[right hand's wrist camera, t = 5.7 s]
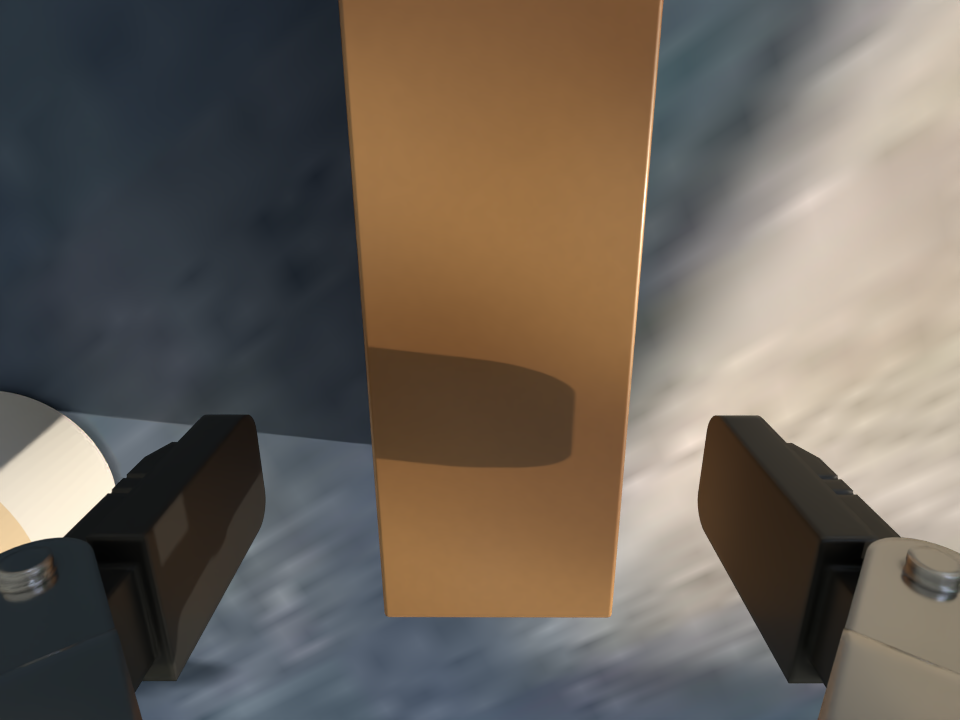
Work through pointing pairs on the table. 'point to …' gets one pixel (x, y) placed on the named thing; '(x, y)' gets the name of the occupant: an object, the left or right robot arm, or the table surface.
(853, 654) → the right robot arm
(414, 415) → the beam
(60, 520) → the coffee cup
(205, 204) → the table surface
